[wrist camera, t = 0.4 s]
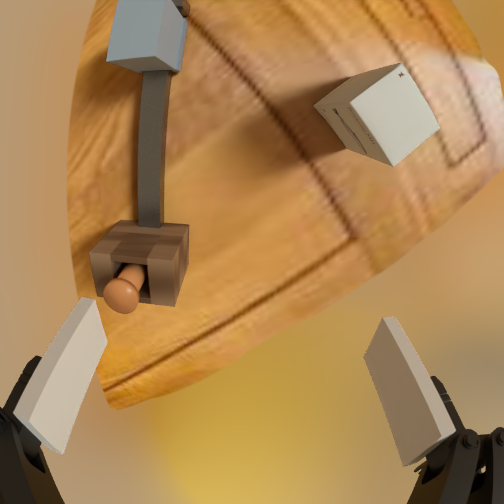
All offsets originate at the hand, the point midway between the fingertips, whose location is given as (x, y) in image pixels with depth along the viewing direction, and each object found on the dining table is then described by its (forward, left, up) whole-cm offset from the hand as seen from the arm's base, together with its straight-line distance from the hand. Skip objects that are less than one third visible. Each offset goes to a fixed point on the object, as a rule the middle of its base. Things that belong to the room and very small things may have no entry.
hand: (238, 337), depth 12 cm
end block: (+9, -12, -26) cm, 30 cm away
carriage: (-18, -12, -26) cm, 34 cm away
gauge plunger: (+9, -12, -19) cm, 24 cm away
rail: (-9, -12, -26) cm, 30 cm away
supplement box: (-12, +12, -26) cm, 31 cm away
